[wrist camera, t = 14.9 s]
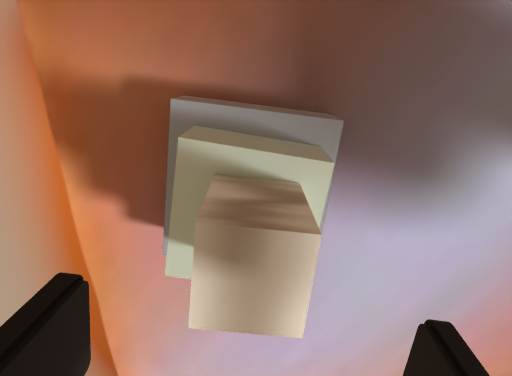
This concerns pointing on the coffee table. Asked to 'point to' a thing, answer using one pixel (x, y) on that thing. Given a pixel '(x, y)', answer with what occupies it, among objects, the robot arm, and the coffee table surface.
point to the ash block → (253, 257)
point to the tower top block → (235, 164)
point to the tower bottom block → (248, 131)
